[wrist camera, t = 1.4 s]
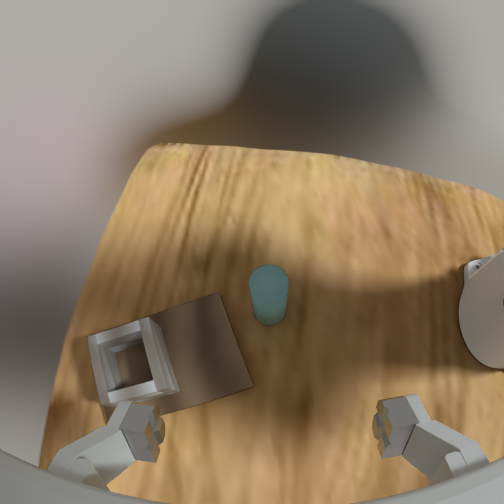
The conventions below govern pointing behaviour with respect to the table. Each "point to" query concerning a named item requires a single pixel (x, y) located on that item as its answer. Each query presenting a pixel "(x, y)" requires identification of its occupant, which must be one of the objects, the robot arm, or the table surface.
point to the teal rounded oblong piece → (269, 293)
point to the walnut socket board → (170, 358)
